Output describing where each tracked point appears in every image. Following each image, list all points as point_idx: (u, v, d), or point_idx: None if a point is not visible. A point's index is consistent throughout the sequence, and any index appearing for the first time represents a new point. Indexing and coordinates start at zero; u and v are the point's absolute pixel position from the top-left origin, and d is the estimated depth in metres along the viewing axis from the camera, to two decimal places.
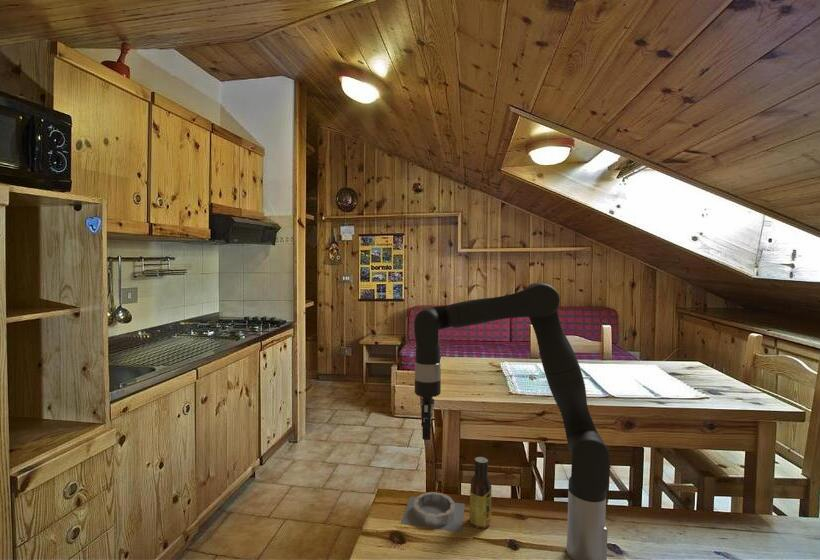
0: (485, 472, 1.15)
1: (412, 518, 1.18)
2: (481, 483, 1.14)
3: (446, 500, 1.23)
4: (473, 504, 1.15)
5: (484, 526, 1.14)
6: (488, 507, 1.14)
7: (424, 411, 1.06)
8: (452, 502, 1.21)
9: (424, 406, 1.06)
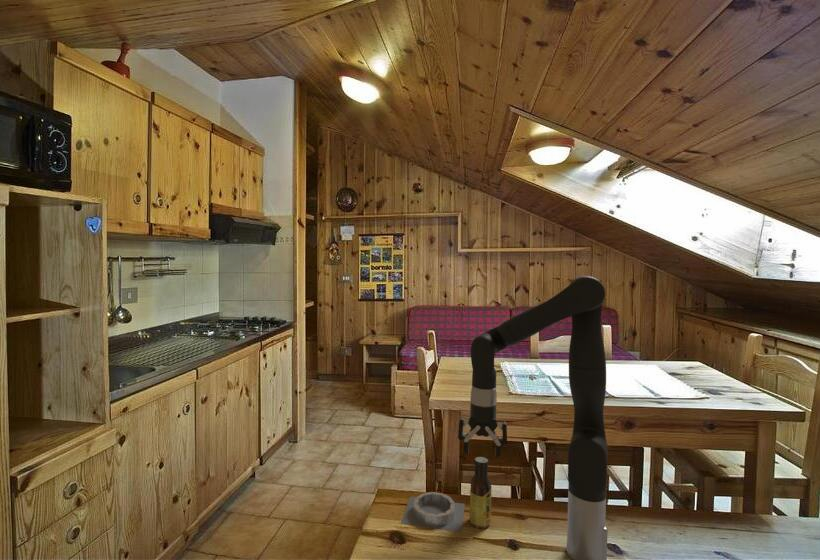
0: (485, 472, 1.15)
1: (412, 518, 1.18)
2: (481, 483, 1.14)
3: (446, 500, 1.23)
4: (473, 504, 1.15)
5: (484, 526, 1.14)
6: (488, 507, 1.14)
7: (506, 429, 1.14)
8: (452, 502, 1.21)
9: None
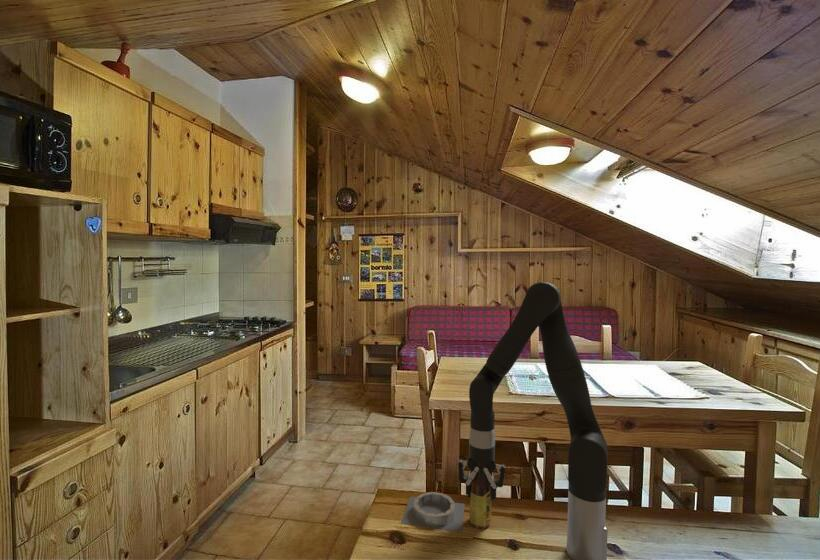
0: None
1: (412, 518, 1.18)
2: (481, 483, 1.14)
3: (446, 500, 1.23)
4: (473, 504, 1.15)
5: (484, 526, 1.14)
6: (488, 507, 1.14)
7: None
8: (452, 502, 1.21)
9: (504, 467, 1.15)
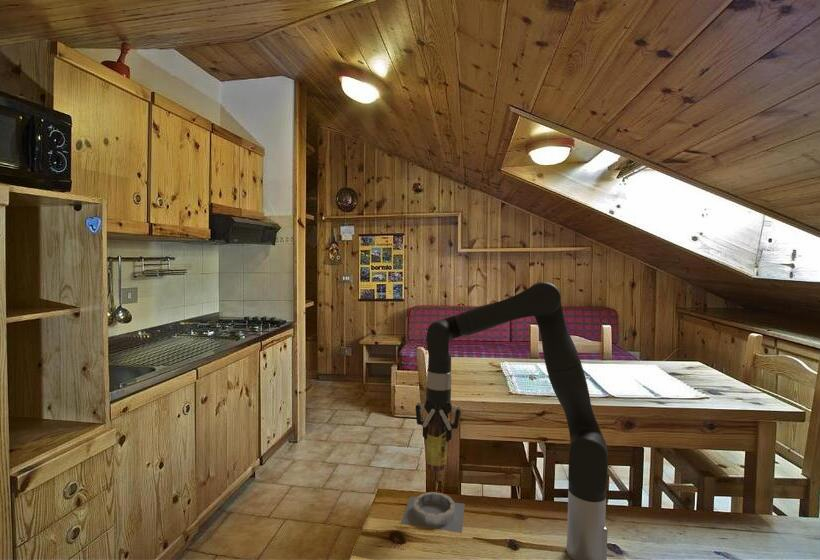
0: None
1: (412, 518, 1.18)
2: (436, 424, 1.18)
3: (446, 500, 1.23)
4: (429, 444, 1.18)
5: (439, 466, 1.17)
6: (443, 448, 1.18)
7: (459, 414, 1.18)
8: (452, 502, 1.21)
9: None
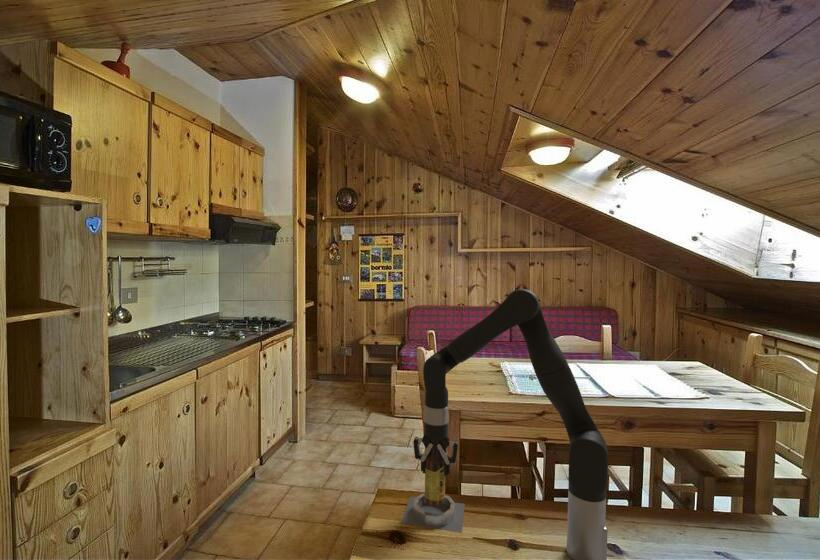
0: None
1: (412, 518, 1.18)
2: (434, 459, 1.18)
3: (446, 500, 1.23)
4: (427, 479, 1.18)
5: (437, 500, 1.17)
6: (441, 482, 1.18)
7: (457, 448, 1.18)
8: (452, 502, 1.21)
9: (457, 444, 1.18)
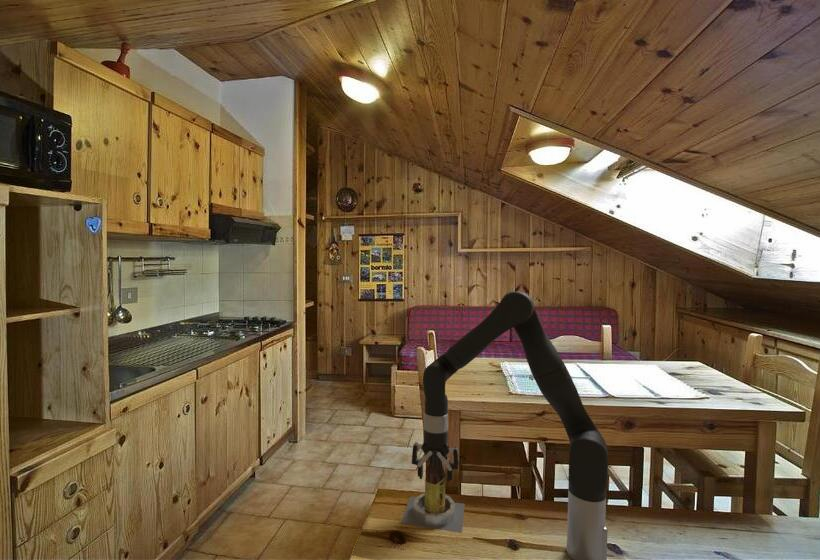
0: None
1: (412, 518, 1.18)
2: (434, 471, 1.18)
3: (446, 500, 1.23)
4: (427, 491, 1.18)
5: (437, 513, 1.17)
6: (441, 495, 1.18)
7: (457, 454, 1.18)
8: (452, 502, 1.21)
9: (457, 450, 1.18)
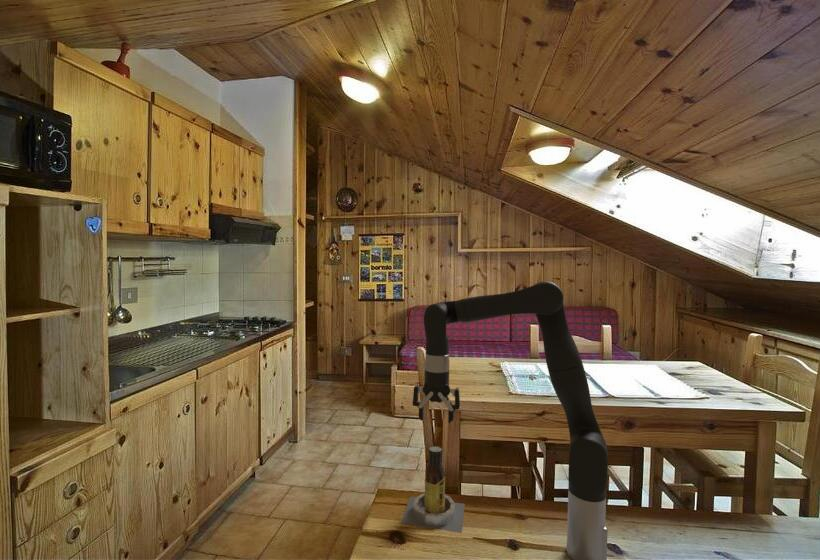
0: (439, 461, 1.19)
1: (412, 518, 1.18)
2: (434, 471, 1.18)
3: (446, 500, 1.23)
4: (427, 492, 1.18)
5: (437, 513, 1.17)
6: (441, 495, 1.18)
7: (458, 394, 1.18)
8: (452, 502, 1.21)
9: (458, 390, 1.18)
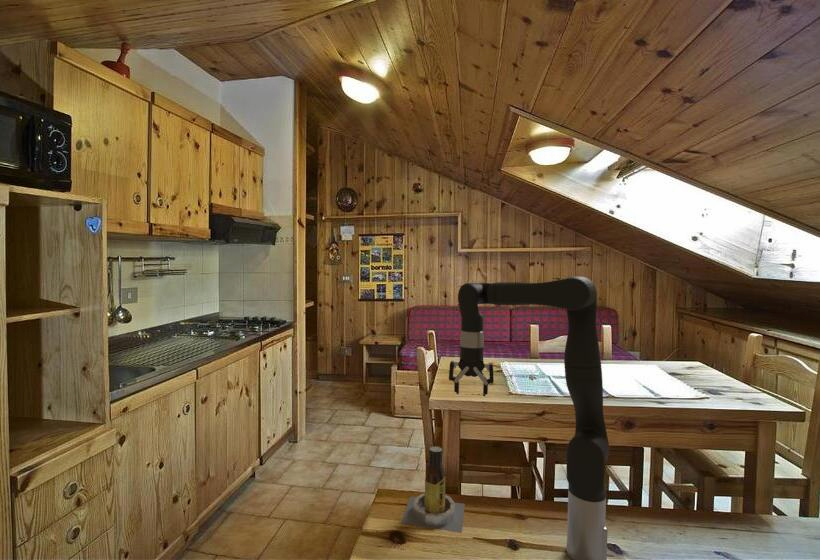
0: (439, 461, 1.19)
1: (412, 518, 1.18)
2: (434, 471, 1.18)
3: (446, 500, 1.23)
4: (427, 492, 1.18)
5: (437, 513, 1.17)
6: (441, 495, 1.18)
7: None
8: (452, 502, 1.21)
9: (492, 365, 1.24)
